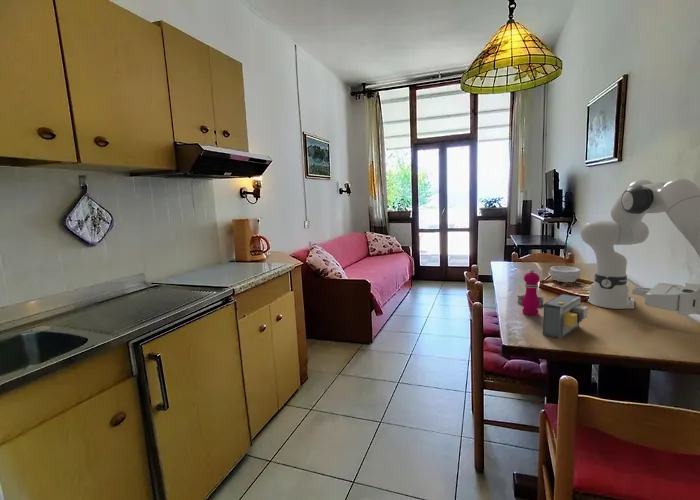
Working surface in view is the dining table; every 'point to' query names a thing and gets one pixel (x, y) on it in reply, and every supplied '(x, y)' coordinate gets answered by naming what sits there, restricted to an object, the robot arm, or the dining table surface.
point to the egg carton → (524, 295)
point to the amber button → (570, 319)
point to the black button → (579, 314)
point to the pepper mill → (531, 294)
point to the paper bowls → (565, 273)
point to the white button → (583, 310)
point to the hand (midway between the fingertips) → (633, 290)
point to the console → (559, 315)
